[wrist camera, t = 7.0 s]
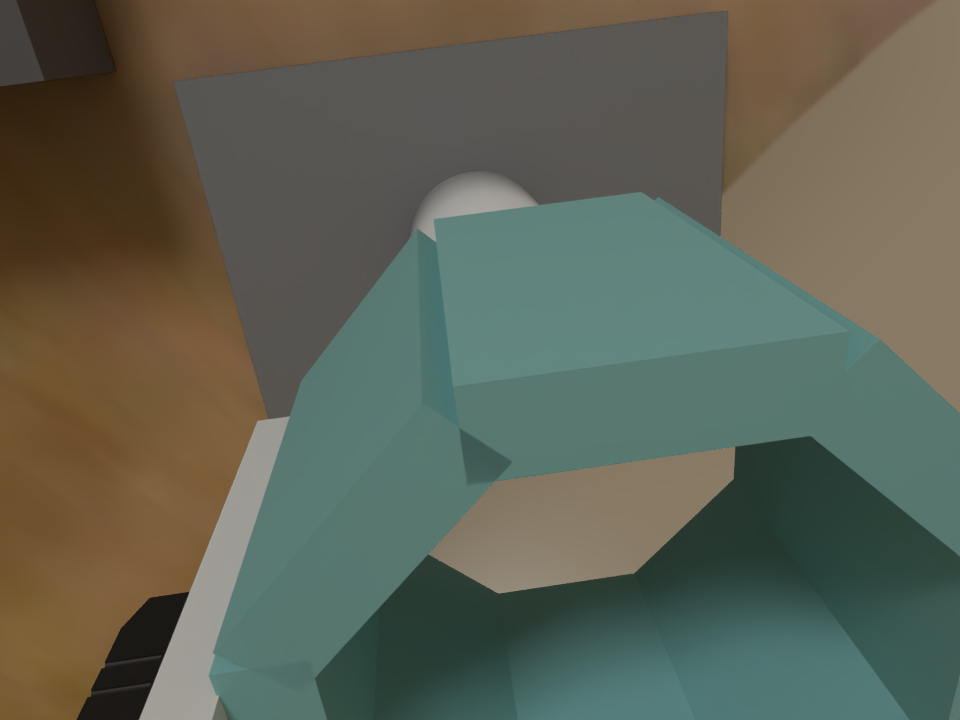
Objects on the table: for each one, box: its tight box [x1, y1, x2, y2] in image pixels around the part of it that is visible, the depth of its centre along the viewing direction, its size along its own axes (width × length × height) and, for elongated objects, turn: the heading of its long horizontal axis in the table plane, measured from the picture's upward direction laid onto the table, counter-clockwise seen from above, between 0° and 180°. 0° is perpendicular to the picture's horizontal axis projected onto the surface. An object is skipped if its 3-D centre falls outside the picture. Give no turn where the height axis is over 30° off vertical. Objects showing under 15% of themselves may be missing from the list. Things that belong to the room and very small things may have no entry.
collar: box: [209, 192, 960, 720], centre depth 11 cm, size 9×9×6 cm
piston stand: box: [174, 11, 728, 419], centre depth 23 cm, size 18×13×6 cm
